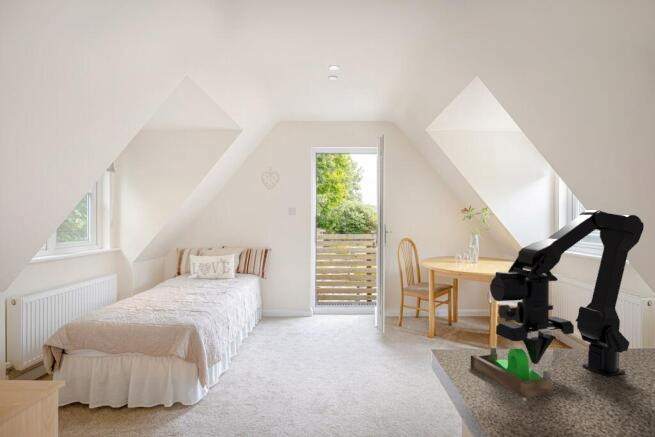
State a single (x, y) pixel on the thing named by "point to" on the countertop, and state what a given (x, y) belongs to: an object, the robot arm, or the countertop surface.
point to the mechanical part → (518, 365)
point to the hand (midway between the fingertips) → (534, 363)
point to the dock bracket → (510, 376)
